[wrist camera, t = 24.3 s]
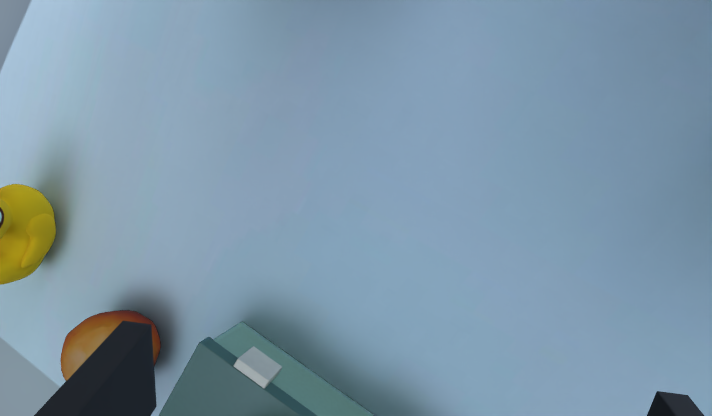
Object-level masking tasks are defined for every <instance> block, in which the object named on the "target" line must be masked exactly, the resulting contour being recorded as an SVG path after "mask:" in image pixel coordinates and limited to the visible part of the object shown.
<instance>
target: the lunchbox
mask: <svg viewBox="0 0 712 416" xmlns="http://www.w3.org/2000/svg"><path fill="white" fill-rule="evenodd" d="M159 416H374V415H373V414H372V413H370V412H369V411H367V410H366V409H365V408H363V407H362V406H360V405H359V404H358V403H356V402H355V401H353V400H352V399H350V398H349V397H348V396H346V395H345V394H343V393H342V392H341V391H339V390H338V389H336V388H335V387H334V386H332V385H331V384H329V383H328V382H326V381H325V380H324V379H322V378H321V377H319V376H318V375H317V374H315V373H314V372H312V371H311V370H310V369H308V368H307V367H305V366H304V365H303V364H301V363H300V362H298V361H297V360H295V359H294V358H293V357H291V356H290V355H288V354H287V353H286V352H284V351H283V350H281V349H280V348H279V347H277V346H276V345H274V344H273V343H272V342H270V341H269V340H267V339H266V338H264V337H263V336H262V335H260V334H259V333H257V332H256V331H255V330H253V329H252V328H250V327H249V326H248V325H246V324H245V323H243V322H240V323H239V324H237V325H235V326H234V327H232V328H231V329H229V330H228V331H226V332H225V333H223V334H221V335H220V336H218V337H217V338H215V339H214V340H213V339H211V338H210V337H207V338H206V339H204V340H203V341H201V342H199V344H198V346H197V348H196V350H195V351H194V353H193V355H192V357H191V359H190V360H189V362H188V364H187V366H186V368H185V369H184V371H183V373H182V375H181V376H180V378H179V380H178V382H177V384H176V385H175V387H174V389H173V391H172V393H171V394H170V396H169V398H168V400H167V402H166V403H165V405H164V407H163V409H162V411H161V412H160V414H159Z"/></svg>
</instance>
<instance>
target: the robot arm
mask: <svg viewBox="0 0 712 416" xmlns="http://www.w3.org/2000/svg"><path fill="white" fill-rule="evenodd" d="M155 408H156V392H155V375H154V358H153V342H152V325H151V324H146V323H138V322H131V321H122V322H121V323H120V324H119V325H118V326H117V327H116V329H115V330H114V331H113V332H112V333H111V334H110V335H109V336H108V337H107V338H106V339H105V340H104V341H103V342H102V344H101V345H100V346H99V347H98V348H97V349H96V350H95V351H94V352H93V353H92V354H91V355H90V356H89V357H88V359H87V360H86V361H85V362H84V363H83V364H82V365H81V366H80V367H79V368H78V369H77V370H76V371H75V372H74V373H73V375H72V376H71V377H70V378H69V379H68V380H67V381H66V382H65V383H64V384H63V385H62V386H61V387H60V388H59V390H58V391H57V392H56V393H55V394H54V395H53V396H52V397H51V398H50V399H49V400H48V401H47V402H46V404H45V405H44V406H43V407H42V408H41V409H40V410H39V411H38V412H37V413H36V414H35V415H34V416H151V414H152V412H153V411H154V409H155ZM647 416H704V415H703V414H702V412H701V411H700V410H699V409H698V407H697V406H696V405H695V404H694V402H693V401H692V400H691V399H690V397H689V396H688V395H682V394H674V393H667V392H659V391H657V393H656V395H655V398H654V400H653V402H652V405H651V407H650V410H649V412H648V415H647Z"/></svg>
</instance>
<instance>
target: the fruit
mask: <svg viewBox="0 0 712 416" xmlns="http://www.w3.org/2000/svg"><path fill="white" fill-rule="evenodd" d="M122 321H131V322H138V323H146V324H151V325H152V342H153V358H154V366H155V363H156V360H157V357H158V355H159V352H160V348H161V345H160V338H159V335H158V332H157V329H156V326H155V325H154V323H153V322H152V321H151V320H150V319H148V318H146V317H145V316H143V315H141V314H140V313H138V312H136V311H130V310H122V311H121V310H120V311H111V312H104V313H99V314H97V315H94V316H91V317H89V318H87V319H85V320H84V321H83V322H81V323H80V324H79V325H78V326H76V327H75V328H74V329H73V330H71V331H70V332H69V333H68V335H67V336H66V338H65V341H64V344H63V349H62V353H61V371H62V373H63V377H64V378H65V380H66V381H67V380H68V379H69V378H70V377H71V376H72V375H73V373H74V372H75V371H76V370H77V369H78V368H79V367H80V366H81V365H82V364H83V363H84V362H85V361H86V360H87V359H88V357H89V356H90V355H91V354H92V353H93V352H94V351H95V350H96V349H97V348H98V347H99V346H100V345H101V344H102V342H103V341H104V340H105V339H106V338H107V337H108V336H109V335H110V334H111V333H112V332H113V331H114V330H115V329H116V327H117V326H118V325H119V324H120V323H121V322H122Z"/></svg>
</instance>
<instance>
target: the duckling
mask: <svg viewBox="0 0 712 416" xmlns="http://www.w3.org/2000/svg"><path fill="white" fill-rule="evenodd" d="M55 236H56V224H55V220H54V211H53V208H52V206H51V205H50V203H49V202H48V200H47V199H46V198H45V197H44V195H43V194H42V193H41V192H39V191H38V190H36V189H34V188H32V187H29V186H25V185H20V184H12V185H7V186H5V187H2V188H0V284H6V283H10V282H14V281H17V280H20V279H22V278H25V277H27V276H28V275H30V274H32V273H33V272H34V271H35V270H36V269H37V268H38V266H39V265H40V264H41V262H42V260H43V258H44V256H45V255H46V254H47V252H48V251H49V249H50V248H51V246H52V244H53V241H54V239H55Z"/></svg>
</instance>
